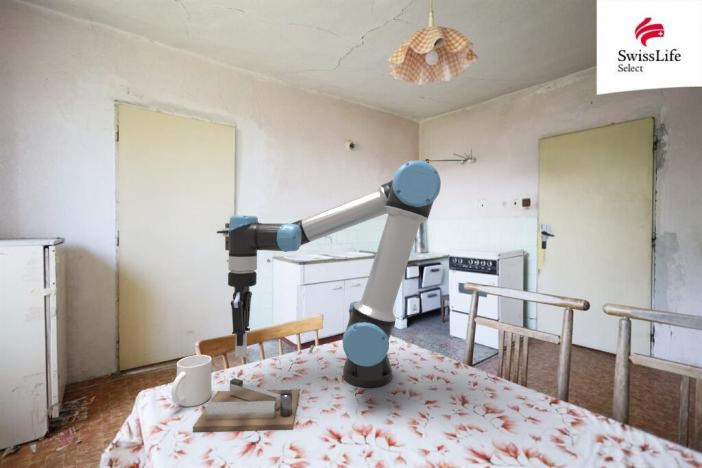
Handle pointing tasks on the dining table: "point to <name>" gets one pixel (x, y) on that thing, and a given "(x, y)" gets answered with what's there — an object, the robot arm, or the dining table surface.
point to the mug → (192, 381)
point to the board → (246, 424)
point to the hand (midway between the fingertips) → (240, 355)
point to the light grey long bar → (252, 392)
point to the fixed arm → (249, 409)
